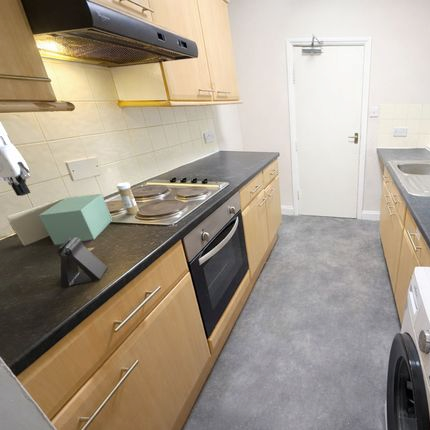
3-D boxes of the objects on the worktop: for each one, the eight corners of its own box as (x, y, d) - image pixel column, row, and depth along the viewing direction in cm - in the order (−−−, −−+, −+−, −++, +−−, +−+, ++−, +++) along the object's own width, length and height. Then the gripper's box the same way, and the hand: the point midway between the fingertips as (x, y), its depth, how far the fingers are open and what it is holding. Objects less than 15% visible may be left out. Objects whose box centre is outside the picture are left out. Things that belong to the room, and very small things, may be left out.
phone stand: (108, 268, 80) (92, 233, 75) (100, 280, 75) (82, 244, 70) (72, 275, 78) (53, 240, 72) (61, 288, 72) (40, 251, 67)
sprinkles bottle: (141, 211, 119) (131, 182, 113) (132, 215, 115) (121, 186, 109) (134, 210, 120) (123, 181, 114) (124, 214, 116) (113, 185, 110)
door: (17, 243, 95) (-1, 215, 90) (70, 223, 109) (57, 197, 104) (25, 245, 93) (7, 216, 88) (77, 224, 108) (64, 198, 103)
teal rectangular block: (54, 245, 94) (38, 215, 88) (78, 224, 108) (66, 197, 103) (94, 239, 97) (80, 210, 91) (112, 220, 111) (101, 193, 106)
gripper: (-41, 145, 84) (-7, 198, 92) (2, 144, 83) (32, 198, 91) (-13, 141, 91) (16, 191, 99) (27, 139, 90) (53, 190, 98)
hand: (24, 194), depth 95 cm, fingers closed
